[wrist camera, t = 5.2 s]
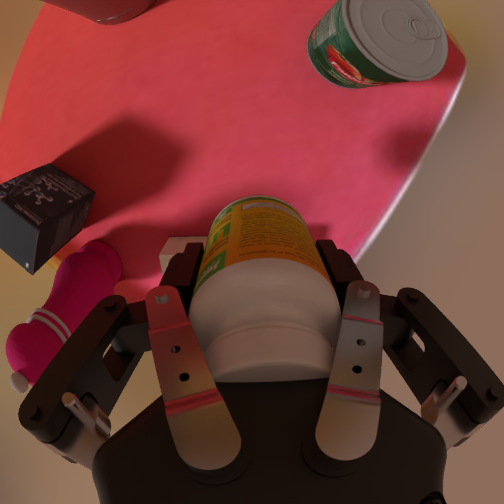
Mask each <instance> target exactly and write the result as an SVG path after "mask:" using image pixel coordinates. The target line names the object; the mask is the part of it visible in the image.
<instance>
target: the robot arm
mask: <svg viewBox="0 0 504 504" xmlns="http://www.w3.org/2000/svg"><path fill="white" fill-rule="evenodd" d="M40 1H43V2H46V3H49V4H52V5H55V6H58V7H60V8H63V9H66V10H68V11H71V12H73V13H76V14H78V15H81V16H83V17H85V18H88V19H90V20H92V21H95V22H97V23H99V24H104V25H113V24H118V23H122V22H125V21H127V20H130V19H132V18H134V17H136V16H137V15H139V14H140V13H142V12H143V11H145V10H146V9H147V8H148V7H149V6H151V5H152V4H153V3H154V2H155V0H40ZM315 246H316V248H317V250H318V253H319V255H320V257H321V259H322V261H323V264H324V266H325V269H326V271H327V273H328V275H329V278H330V280H331V283H332V285H333V287H334V290H335V292H336V295H337V299H338V302H339V305H340V309H341V322H340V327H339V332H338V336H337V339H336V343H335V345H334V347H333V352H334V358H333V362H332V367H331V371H330V375H329V378H319V379H307V380H293V381H274V382H214V380H213V378H212V375H211V373H210V370H209V368H208V366H207V363H206V361H205V358H204V356H203V353H202V351H201V348H200V346H199V343H198V341H197V338H196V335H195V333H194V330H193V327H192V325H191V322H190V320H188V315H189V308H190V303H191V300H192V296H193V292H194V288H195V284H196V280H197V276H198V273H199V268H200V265H201V261H202V257H203V254H204V245H203V242H190V243H187V245H186V247H185V250H184V252H183V253H176V254H175V255H174V256H173V257H172V258H171V259H170V261H169V263H168V266H167V268H166V271H165V272H164V275H163V277H162V279H161V282H160V284H159V286H158V287H155V288H153V289H151V290H150V291H149V292H148V293H147V294H146V296H145V300H143V301H140V302H135V303H130V304H127V302H126V299H125V298H124V297H122V296H120V295H111V296H107V297H105V298H103V299H102V300H100V301H99V302H98V303H97V304H96V306H95V307H94V308H93V309H92V310H91V312H90V313H89V314H88V315H87V316H86V318H85V319H84V320H83V321H82V322H81V324H80V325H79V326H78V327H77V328H76V330H75V331H74V332H73V333H72V335H71V336H70V337H69V338H68V340H67V341H66V342H65V344H64V345H63V346H62V347H61V349H60V350H59V351H58V353H57V354H56V355H55V357H54V358H53V359H52V361H51V362H50V363H49V365H48V366H47V367H46V369H45V370H44V372H43V373H42V374H41V376H40V377H39V379H38V380H37V381H36V383H35V384H34V386H33V387H32V389H31V390H30V391H29V393H28V394H27V396H26V398H25V399H24V401H23V402H22V404H21V405H20V408H19V413H18V416H19V421H20V423H21V425H22V426H23V427H24V428H25V429H27V430H28V431H29V432H30V433H31V434H33V435H34V436H35V437H36V438H37V440H39V441H40V442H41V443H43V444H44V445H45V446H46V447H48V448H49V449H51V450H52V451H53V452H55V453H56V454H58V455H60V456H62V457H63V458H65V459H66V460H68V461H69V462H71V463H79V464H80V465H82V466H84V467H86V468H87V469H89V470H91V471H92V475H93V480H94V483H95V486H96V489H97V492H98V496H99V500H100V504H447V503H446V502H445V499H444V496H443V475H444V469H445V464H446V458H447V450H448V449H449V448H451V447H455V446H459V445H460V444H462V443H463V442H464V441H466V440H467V439H468V438H469V437H471V436H472V435H473V434H474V433H475V432H476V431H478V430H479V429H480V428H481V427H482V426H484V425H485V424H486V423H487V422H488V421H489V420H490V419H491V418H492V417H493V416H494V415H495V414H497V413H498V412H499V411H500V410H501V409H502V408H503V407H504V385H503V384H502V382H501V381H500V380H499V378H498V377H497V376H496V375H495V373H494V372H493V371H492V369H491V368H490V367H489V366H488V364H487V363H486V362H485V361H484V360H483V358H482V357H481V356H480V355H479V354H478V352H477V351H476V350H475V349H474V348H473V346H472V345H471V344H470V343H469V342H468V341H467V340H466V338H465V337H464V336H463V335H462V334H461V333H460V332H459V331H458V329H457V328H455V326H454V325H453V324H452V323H451V322H450V321H449V320H448V319H447V318H446V317H445V316H444V315H443V313H442V312H440V310H439V309H438V308H437V307H436V306H435V305H434V304H433V303H432V302H431V301H430V300H429V299H428V298H427V297H426V296H425V295H424V294H423V293H422V292H420V291H419V290H417V289H414V288H402V289H400V290H399V292H398V294H397V297H394V296H388V295H382V294H380V291H379V289H378V288H377V287H376V286H375V285H374V284H372V283H370V282H368V281H364V279H363V277H362V275H361V274H360V272H359V270H358V269H357V267H356V265H355V263H354V262H353V260H352V258H351V257H350V255H349V254H348V253H347V252H345V251H344V250H342V249H337V248H336V246H335V244H334V242H333V241H332V240H317V241H316V244H315ZM414 332H416V334H417V335H418V336H419V337H420V339H421V340H422V341H423V343H424V346H425V351H424V352H423V350H422V349H421V348H420V347H419V345H418V344H417V343H416V342H415V340H414V339H413V338H412V336H413V334H414ZM110 343H111V344H112V346H111V347H110V348H109V350H108V351H107V353H106V354H105V356H104V358H103V354H104V352H105V350H106V349H107V347H108V346H109V344H110ZM383 349H384V351H385V352H386V353H387V355H388V356H389V358H390V359H391V361H392V362H393V364H394V365H395V367H396V368H397V370H398V371H399V373H400V374H401V376H402V377H403V378H404V380H405V382H406V383H407V385H408V386H409V387H410V389H411V390H412V392H413V394H414V395H415V397H416V398H417V400H418V401H419V403H420V405H421V416H422V418H421V417H420V416H418V415H417V414H416V413H414V412H413V411H411V410H410V409H408V408H407V407H405V406H404V405H403V404H401V403H400V402H398V401H397V400H396V399H394V398H393V397H391V396H390V395H389V394H387V393H386V392H384V391H383V390H381V389H380V378H381V365H382V350H383ZM150 350H152V353H153V358H154V363H155V367H156V372H157V376H158V380H159V384H160V388H161V392H162V395H161V396H160V397H158V398H157V399H156V400H155V401H154V402H153V403H151V404H150V405H149V406H148V407H147V408H146V409H144V410H143V411H142V412H141V413H139V414H138V415H137V416H136V417H135V418H134V419H132V420H131V421H130V422H129V423H127V424H126V425H125V426H124V427H122V428H121V429H120V430H119V431H117V432H116V433H115V434H114V435H112V436H111V437H110V431H111V422H110V419H109V415H110V413H111V411H112V409H113V407H114V406H115V404H116V402H117V400H118V398H119V396H120V395H121V393H122V391H123V389H124V387H125V386H126V384H127V382H128V380H129V378H130V377H131V375H132V373H133V371H134V369H135V368H136V366H137V364H138V362H139V361H140V359H141V357H142V355H143V353H144V352H145V351H150Z"/></svg>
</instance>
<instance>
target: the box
mask: <svg viewBox="0 0 504 504" xmlns="http://www.w3.org/2000/svg"><path fill="white" fill-rule="evenodd" d="M94 196H95V192H93V191H92V190H90V189H89V188H87V187H86V186H84V185H83V184H81V183H79V182H78V181H76V180H75V179H73V178H72V177H70V176H68V175H67V174H65V173H64V172H62V171H61V170H59V169H58V168H56V167H55V166H54V165H52V164H51V163H49V164H46V165H43V166H41V167H38V168H36V169H33V170H31V171H29V172H26V173H24V174H22V175H20V176H17V177H15V178H13V179H11V180H9V181H6V182H4V183H2V184H0V248H1V249H2V250H3V251H4V252H5V253H6V254H8V255H9V256H10V257H11V258H12V259H14V260H15V261H16V262H17V263H18V264H19V265H21V266H22V267H23V268H24V269H26V271H27V272H29V273H30V274H31V275H34V273H35V272H36V271H37V270H39V269H40V267H42V266H43V265H44V264H45V263H46V262H47V261H48V260H49V259H50V258H51V257H52V256H53V255H54V254H56V253H57V252H58V251H59V250H60V249H61V248H62V247H63V246H64V245H65V244H67V243H68V242H69V241H70V240H71V239H72V238H74V237H75V236H76V235H77V234H78V233H79V232H81V231H82V229H83V226H84V223H85V220H86V217H87V214H88V211H89V209H90V206H91V203H92V200H93V198H94Z"/></svg>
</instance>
